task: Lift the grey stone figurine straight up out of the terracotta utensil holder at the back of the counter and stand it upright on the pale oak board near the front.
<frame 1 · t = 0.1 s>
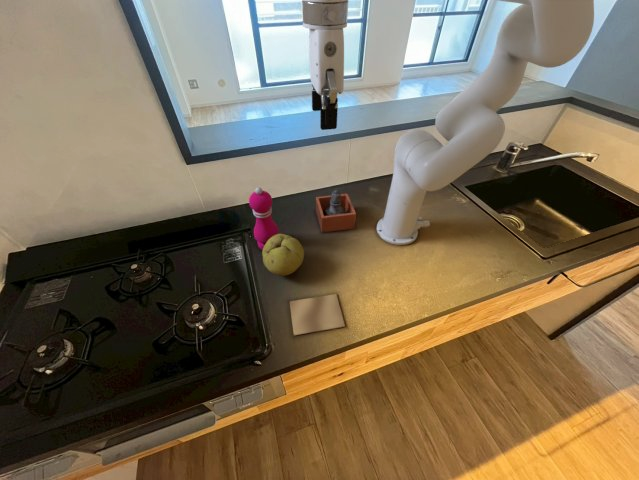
hand: (323, 118, 59), 37 cm above the counter, tool pointing down, fingers open, 9 cm apart
holder: (334, 219, 92), on the counter
grey stone figurine: (334, 220, 92), resting in holder
pepper mill: (268, 243, 84), on the counter
fruit: (285, 267, 78), on the counter
board: (316, 314, 67), on the counter
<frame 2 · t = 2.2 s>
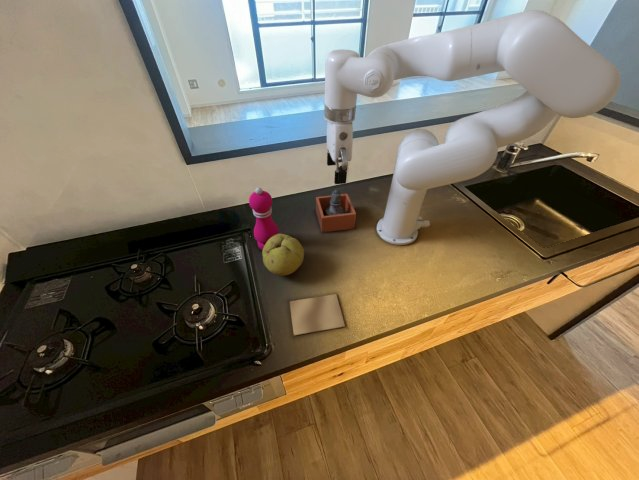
hand: (336, 173, 79), 17 cm above the counter, tool pointing down, fingers open, 9 cm apart
nothing on the counter moved.
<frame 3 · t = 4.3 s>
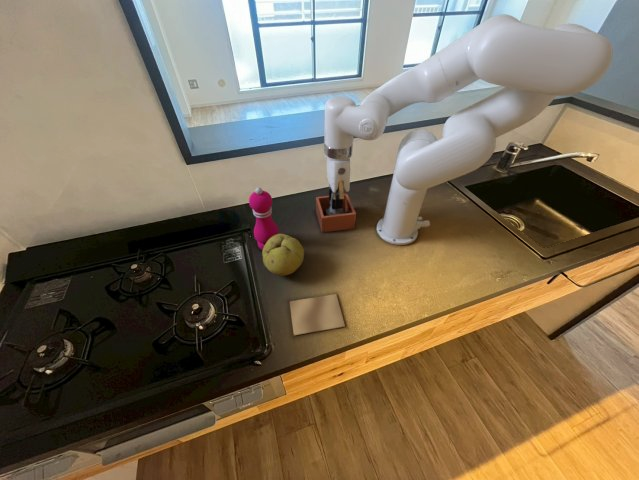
hand: (335, 203, 87), 7 cm above the counter, tool pointing down, fingers closed on grey stone figurine, 3 cm apart
grey stone figurine: (334, 220, 92), resting in holder, touching gripper
everything else where it was.
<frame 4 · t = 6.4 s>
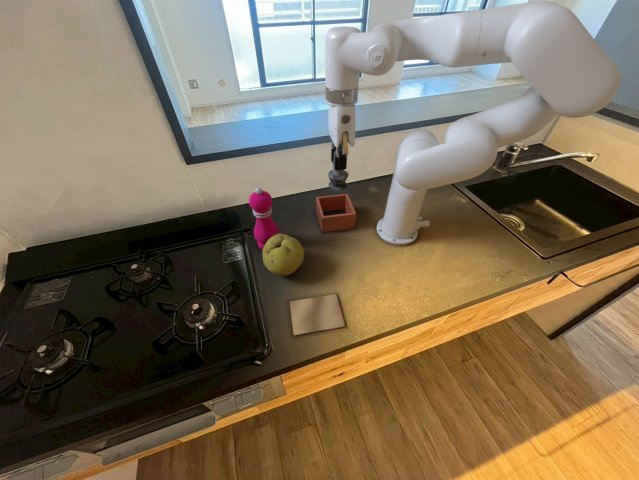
hand: (338, 164, 77), 20 cm above the counter, tool pointing down, fingers closed on grey stone figurine, 3 cm apart
grey stone figurine: (337, 185, 82), point 13 cm above the counter, touching gripper
everything else where it was.
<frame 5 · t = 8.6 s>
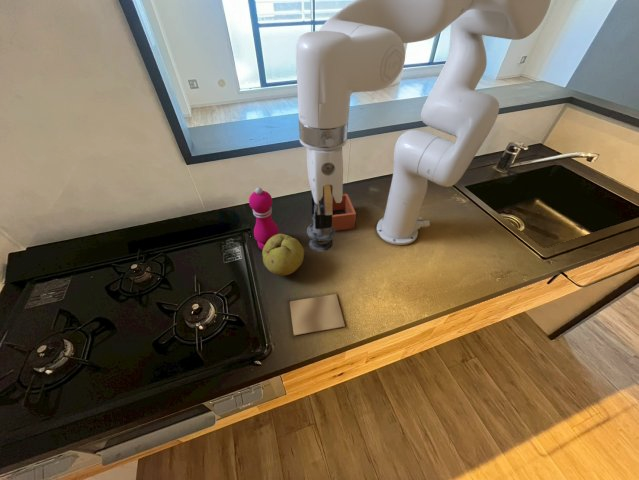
hand: (321, 219, 56), 23 cm above the counter, tool pointing down, fingers closed on grey stone figurine, 3 cm apart
grey stone figurine: (320, 243, 61), point 17 cm above the counter, touching gripper
everything else where it was.
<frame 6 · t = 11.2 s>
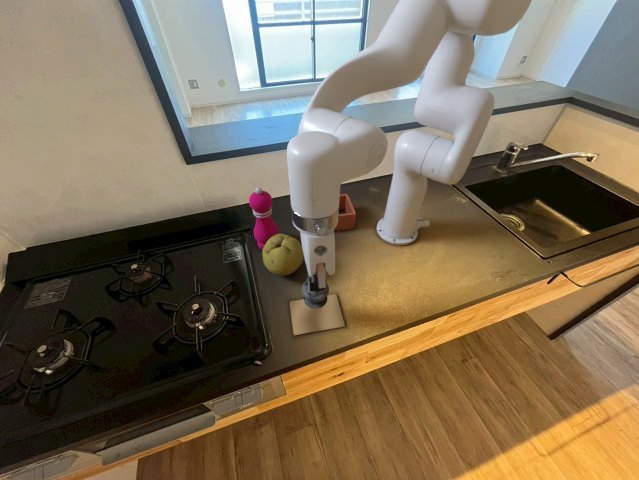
hand: (315, 280, 58), 14 cm above the counter, tool pointing down, fingers closed on grey stone figurine, 3 cm apart
grey stone figurine: (315, 298, 63), point 7 cm above the counter, touching gripper
everything else where it was.
when the fingers open (7 cm above the counter, at t = 13.1 s): grey stone figurine stays where it is, resting on board.
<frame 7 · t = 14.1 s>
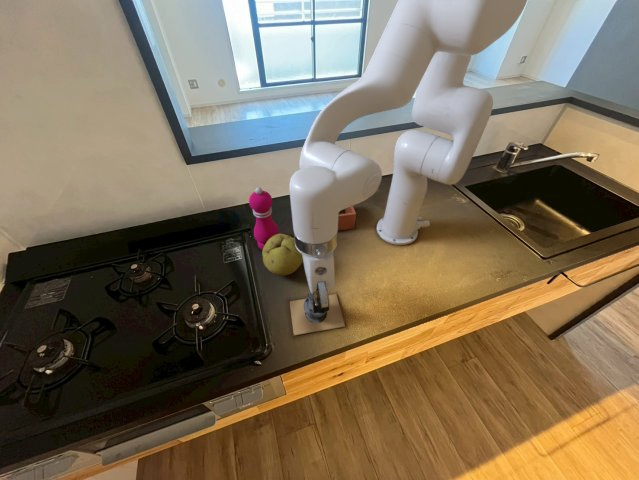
hand: (317, 291, 61), 9 cm above the counter, tool pointing down, fingers open, 9 cm apart
grey stone figurine: (316, 313, 67), resting on board
everything else where it was.
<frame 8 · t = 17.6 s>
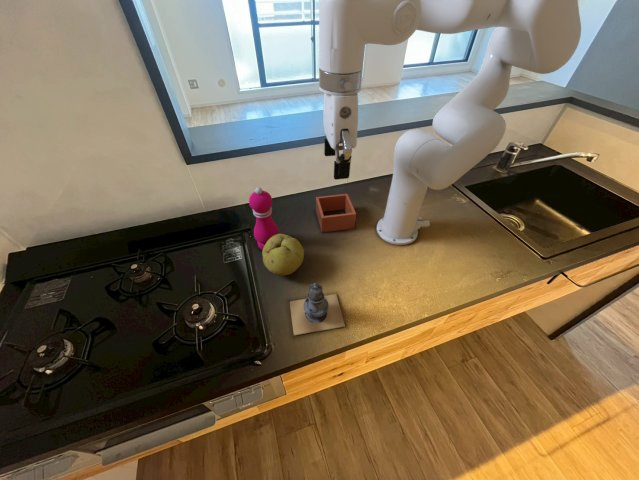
hand: (336, 166, 61), 28 cm above the counter, tool pointing down, fingers open, 9 cm apart
nothing on the counter moved.
at the end: grey stone figurine inside the target area on the board (0.1 cm from its centre), point 0.2 cm above the board's base; grey stone figurine tilted 0° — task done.
